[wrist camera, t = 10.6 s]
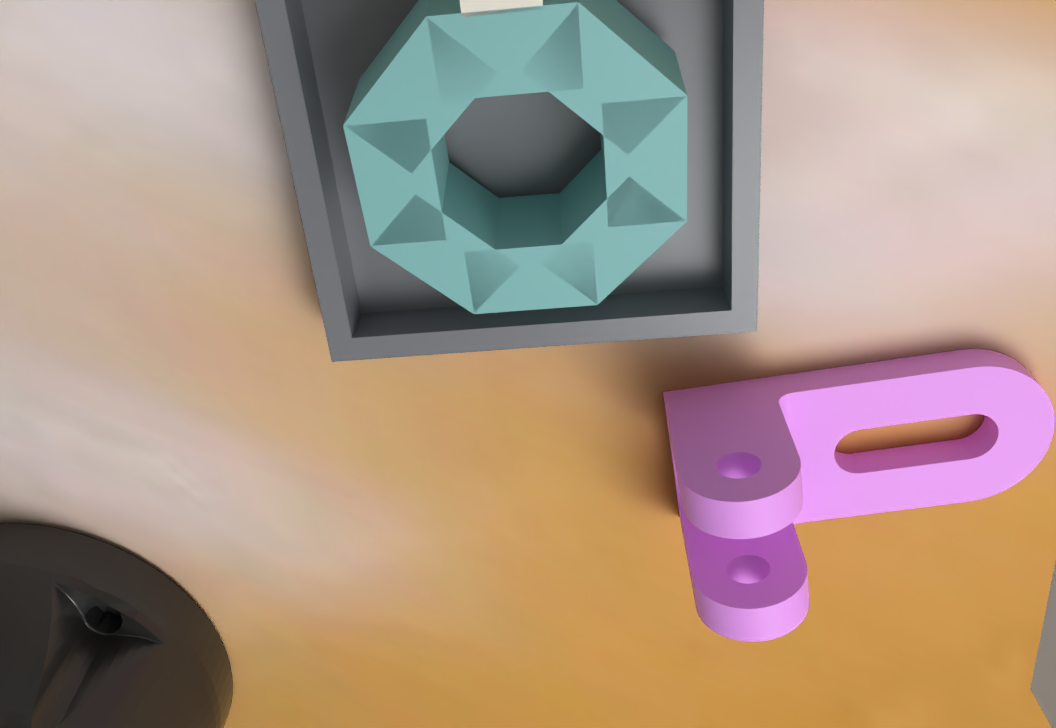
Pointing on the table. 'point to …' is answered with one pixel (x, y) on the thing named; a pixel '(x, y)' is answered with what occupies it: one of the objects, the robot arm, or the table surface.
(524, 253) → the ring
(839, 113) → the table surface
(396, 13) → the tray
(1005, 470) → the bracket
